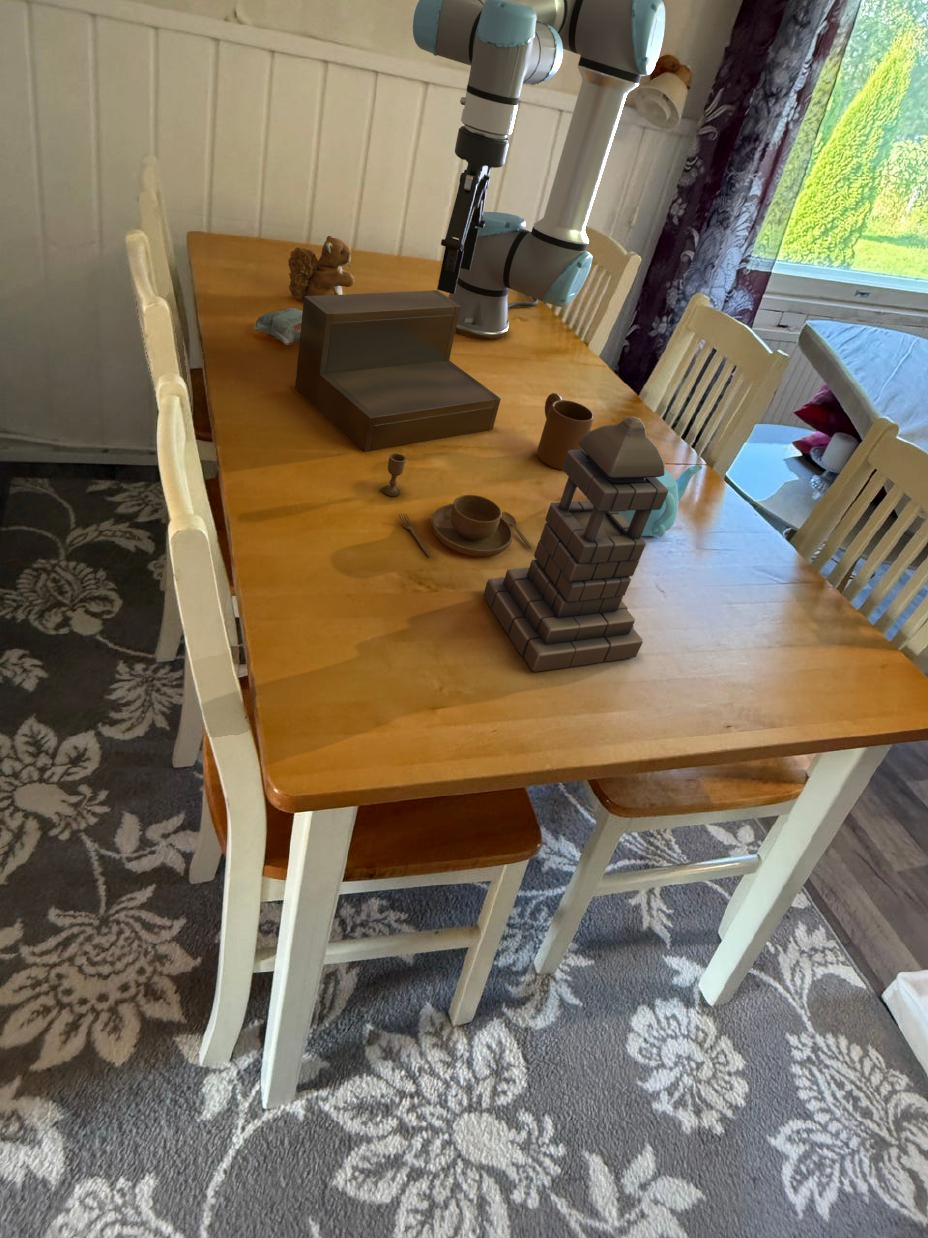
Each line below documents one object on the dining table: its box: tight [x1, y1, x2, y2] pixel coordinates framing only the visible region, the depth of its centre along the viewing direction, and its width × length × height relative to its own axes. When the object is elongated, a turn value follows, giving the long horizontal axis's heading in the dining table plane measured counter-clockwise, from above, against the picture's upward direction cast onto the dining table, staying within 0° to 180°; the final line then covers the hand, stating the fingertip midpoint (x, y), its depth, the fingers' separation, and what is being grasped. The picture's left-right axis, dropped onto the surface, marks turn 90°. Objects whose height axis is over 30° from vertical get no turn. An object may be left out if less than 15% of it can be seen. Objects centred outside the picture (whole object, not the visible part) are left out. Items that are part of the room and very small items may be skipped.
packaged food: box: [254, 307, 303, 346], centre depth 160 cm, size 9×12×5 cm
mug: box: [536, 392, 595, 471], centre depth 146 cm, size 12×8×9 cm, turn 21°
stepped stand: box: [294, 289, 502, 453], centre depth 144 cm, size 22×27×16 cm
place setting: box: [381, 452, 532, 558], centre depth 123 cm, size 18×20×6 cm
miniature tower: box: [482, 416, 668, 672], centre depth 102 cm, size 16×15×30 cm
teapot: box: [619, 465, 703, 538], centre depth 133 cm, size 13×14×11 cm
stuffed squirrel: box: [287, 235, 355, 303], centre depth 175 cm, size 10×14×13 cm
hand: (454, 279), depth 136 cm, fingers open, 13 cm apart
